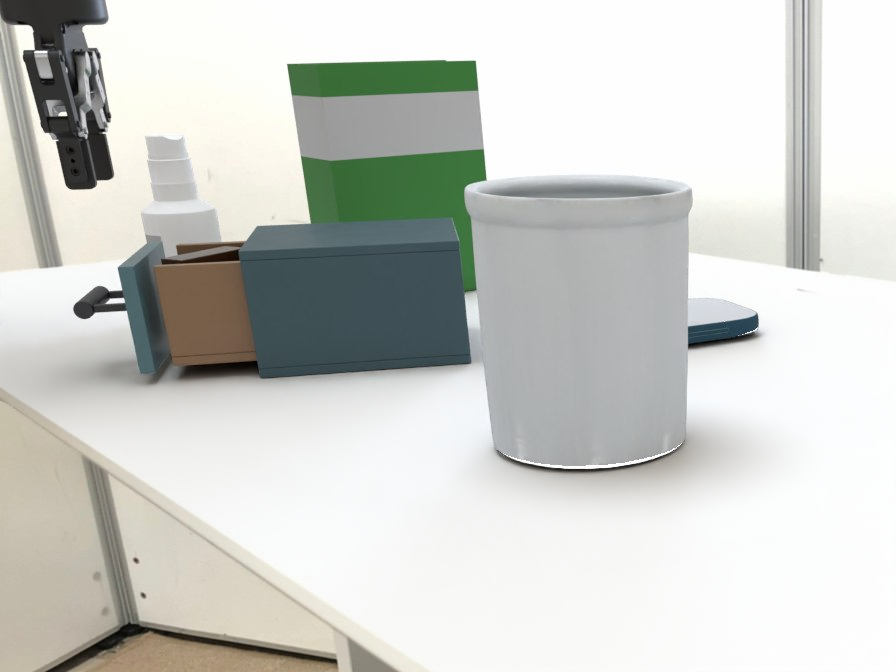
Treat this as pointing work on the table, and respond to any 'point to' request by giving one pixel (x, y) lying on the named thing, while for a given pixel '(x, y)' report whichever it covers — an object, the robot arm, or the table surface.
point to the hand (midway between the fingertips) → (91, 183)
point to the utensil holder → (583, 314)
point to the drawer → (180, 308)
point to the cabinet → (355, 296)
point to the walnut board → (205, 256)
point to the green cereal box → (390, 142)
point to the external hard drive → (718, 319)
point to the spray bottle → (175, 198)
